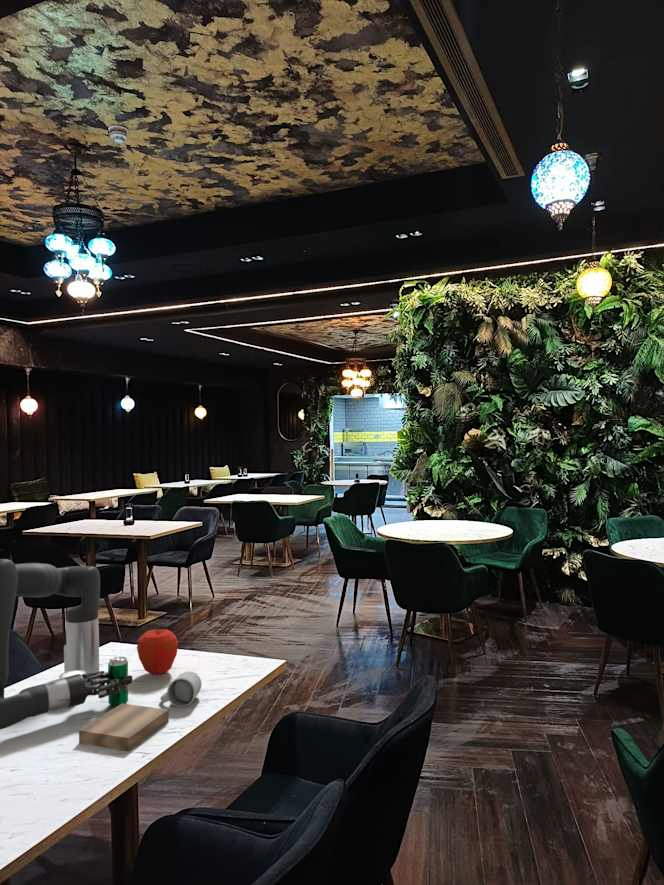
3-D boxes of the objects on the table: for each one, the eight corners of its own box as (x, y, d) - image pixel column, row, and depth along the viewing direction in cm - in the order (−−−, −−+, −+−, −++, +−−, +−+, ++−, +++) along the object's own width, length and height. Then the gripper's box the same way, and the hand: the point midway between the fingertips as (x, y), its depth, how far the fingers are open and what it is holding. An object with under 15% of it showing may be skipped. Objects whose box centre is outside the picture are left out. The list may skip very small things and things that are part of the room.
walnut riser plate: (79, 743, 149) (78, 730, 149) (122, 714, 164) (121, 703, 164) (129, 751, 144) (128, 738, 144) (168, 721, 160) (168, 709, 160)
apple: (129, 675, 193) (128, 629, 193) (163, 664, 202) (162, 620, 202) (153, 684, 185) (151, 636, 185) (186, 672, 194) (185, 626, 194)
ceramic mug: (203, 695, 176) (202, 667, 176) (195, 707, 168) (194, 678, 168) (166, 695, 177) (165, 668, 177) (156, 708, 168) (155, 679, 168)
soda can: (104, 705, 170) (103, 660, 169) (118, 698, 174) (118, 654, 174) (117, 708, 167) (117, 663, 167) (132, 701, 172) (131, 657, 172)
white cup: (76, 704, 171) (76, 679, 171) (54, 703, 173) (53, 677, 173) (91, 694, 178) (90, 670, 178) (69, 693, 179) (69, 668, 179)
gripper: (73, 686, 156) (138, 669, 167) (53, 671, 167) (116, 656, 178) (73, 717, 156) (139, 697, 167) (54, 699, 167) (117, 682, 178)
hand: (127, 676), depth 172 cm, fingers closed on soda can, 5 cm apart
